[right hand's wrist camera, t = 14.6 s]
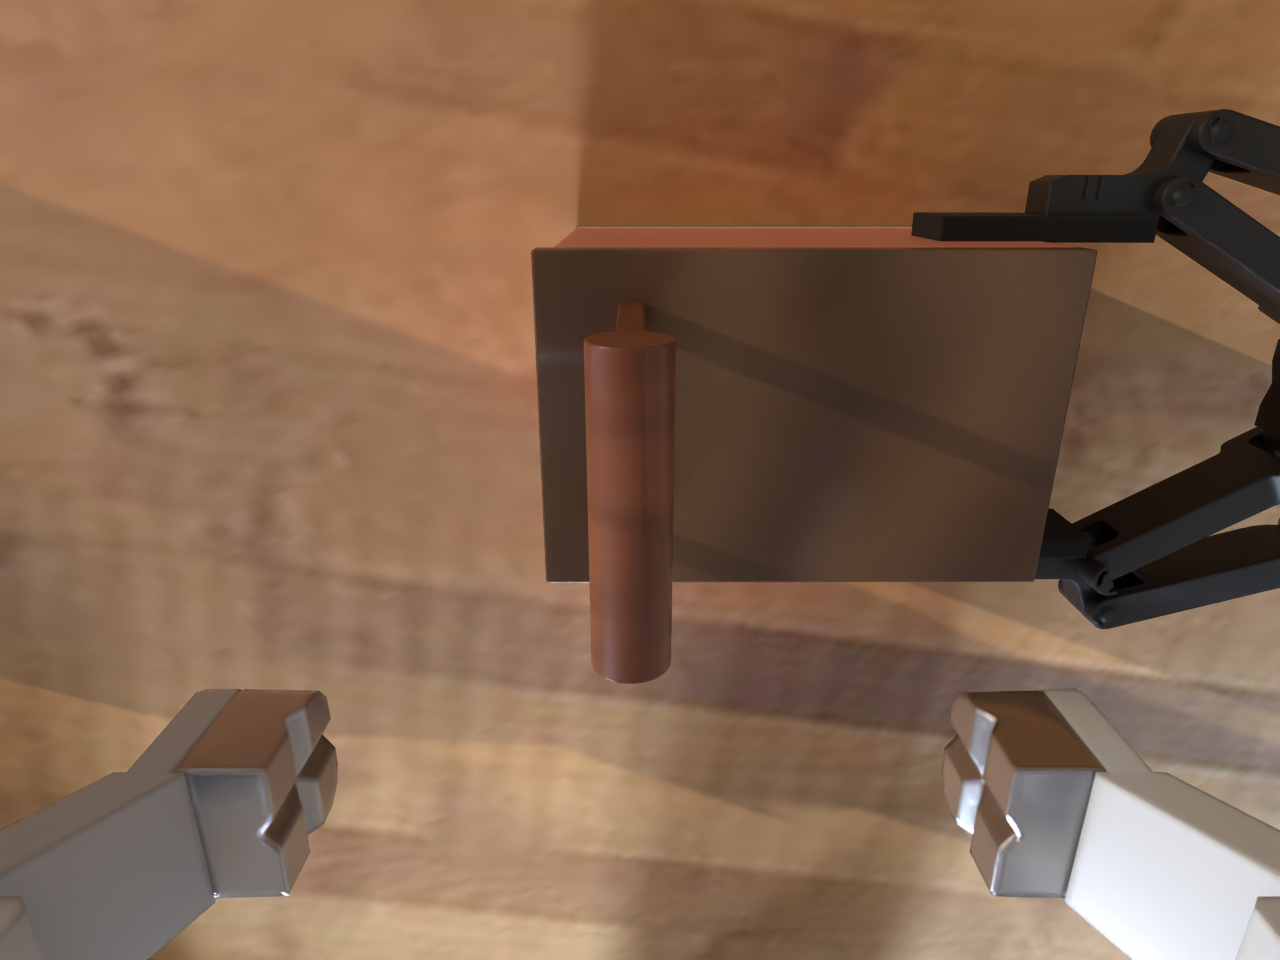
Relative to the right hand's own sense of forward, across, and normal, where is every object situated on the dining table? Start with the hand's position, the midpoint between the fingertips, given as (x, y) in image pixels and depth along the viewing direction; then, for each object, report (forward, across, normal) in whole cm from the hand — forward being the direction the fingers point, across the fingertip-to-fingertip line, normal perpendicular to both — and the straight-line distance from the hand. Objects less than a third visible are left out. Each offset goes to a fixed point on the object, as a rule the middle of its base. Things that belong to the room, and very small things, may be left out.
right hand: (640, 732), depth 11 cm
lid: (+14, -5, 0) cm, 15 cm away
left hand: (+18, -9, 0) cm, 20 cm away
